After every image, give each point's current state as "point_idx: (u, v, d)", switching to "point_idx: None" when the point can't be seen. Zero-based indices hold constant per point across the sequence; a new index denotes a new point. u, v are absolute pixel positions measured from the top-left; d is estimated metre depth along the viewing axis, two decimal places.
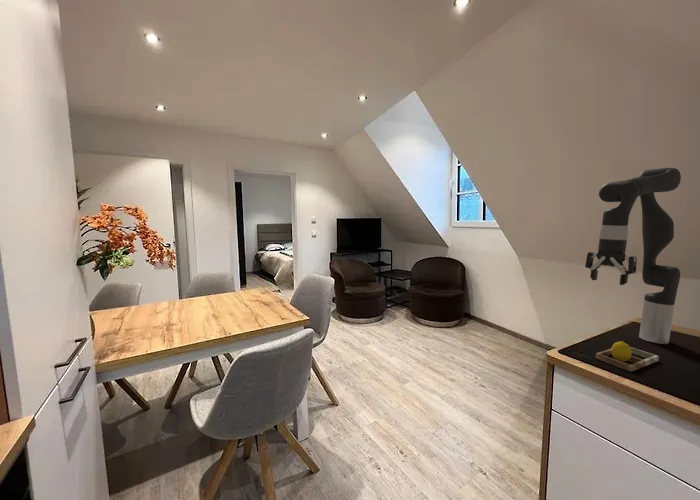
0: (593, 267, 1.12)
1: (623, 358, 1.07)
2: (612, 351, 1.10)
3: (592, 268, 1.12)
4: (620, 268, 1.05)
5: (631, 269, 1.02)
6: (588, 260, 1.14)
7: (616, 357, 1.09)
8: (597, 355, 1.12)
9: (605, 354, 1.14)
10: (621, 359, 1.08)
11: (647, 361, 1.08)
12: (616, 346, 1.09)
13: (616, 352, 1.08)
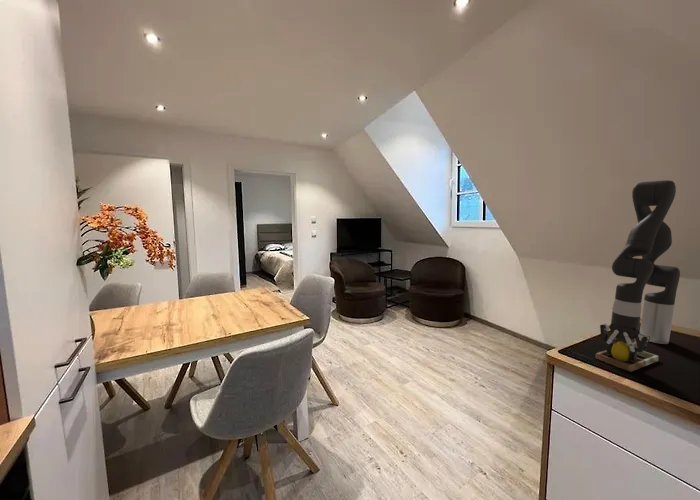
0: (609, 341, 1.12)
1: (623, 358, 1.07)
2: (612, 351, 1.10)
3: (608, 342, 1.12)
4: (630, 345, 1.06)
5: (641, 348, 1.03)
6: (602, 333, 1.13)
7: (616, 357, 1.09)
8: (597, 355, 1.12)
9: (605, 354, 1.14)
10: (621, 359, 1.08)
11: (647, 361, 1.08)
12: (616, 346, 1.09)
13: (616, 352, 1.08)
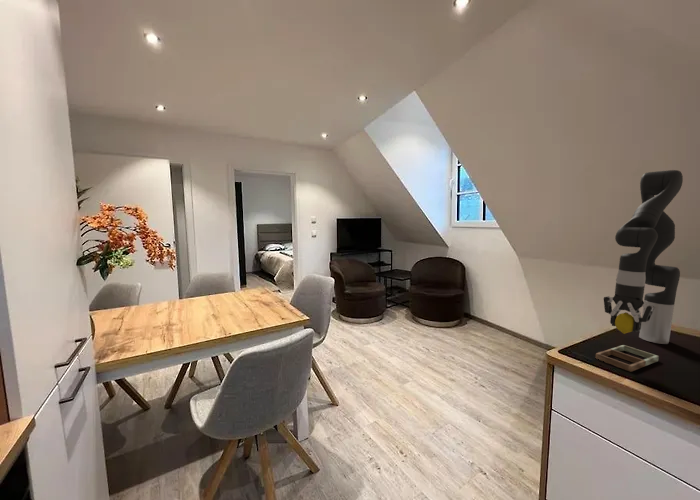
0: (613, 313, 1.10)
1: (627, 329, 1.06)
2: (616, 323, 1.09)
3: (612, 314, 1.11)
4: (635, 315, 1.05)
5: (645, 318, 1.02)
6: (606, 305, 1.12)
7: (620, 328, 1.08)
8: (597, 355, 1.12)
9: (605, 354, 1.14)
10: (625, 330, 1.07)
11: (647, 361, 1.08)
12: (620, 318, 1.08)
13: (620, 323, 1.07)
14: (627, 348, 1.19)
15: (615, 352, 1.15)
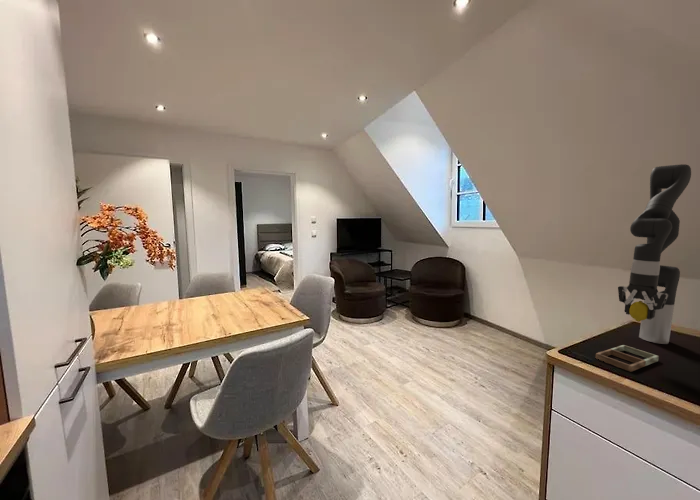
0: (628, 302, 1.14)
1: (641, 317, 1.10)
2: (630, 311, 1.13)
3: (626, 303, 1.15)
4: (649, 303, 1.09)
5: (660, 305, 1.06)
6: (620, 294, 1.16)
7: (634, 316, 1.12)
8: (597, 355, 1.12)
9: (605, 354, 1.14)
10: (639, 318, 1.11)
11: (647, 361, 1.08)
12: (634, 306, 1.12)
13: (635, 311, 1.11)
14: (627, 348, 1.19)
15: (615, 352, 1.15)
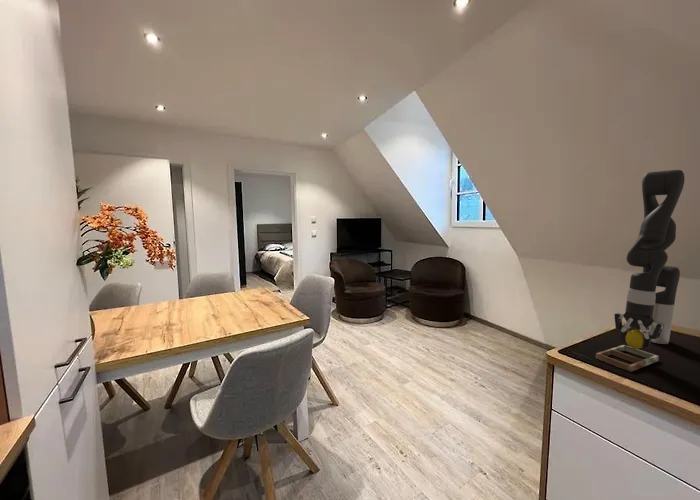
0: (624, 329, 1.15)
1: (637, 345, 1.11)
2: (626, 339, 1.14)
3: (623, 330, 1.16)
4: (645, 332, 1.10)
5: (655, 335, 1.07)
6: (617, 321, 1.17)
7: (630, 344, 1.13)
8: (597, 355, 1.12)
9: (605, 354, 1.14)
10: (635, 346, 1.12)
11: (647, 361, 1.08)
12: (631, 334, 1.13)
13: (631, 339, 1.12)
14: (627, 348, 1.19)
15: (615, 352, 1.15)
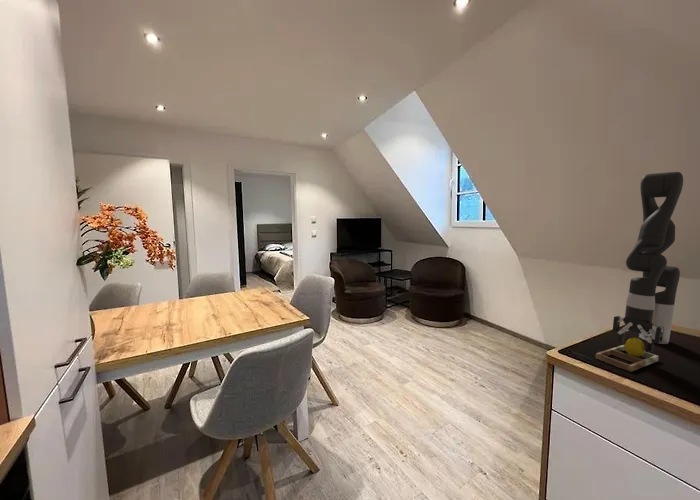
0: (621, 332, 1.16)
1: (636, 354, 1.12)
2: (626, 347, 1.14)
3: (620, 332, 1.17)
4: (647, 336, 1.09)
5: (658, 339, 1.07)
6: (615, 324, 1.18)
7: (630, 352, 1.13)
8: (597, 355, 1.12)
9: (605, 354, 1.14)
10: (635, 354, 1.12)
11: (647, 361, 1.08)
12: (630, 342, 1.13)
13: (630, 347, 1.13)
14: None
15: (615, 352, 1.15)
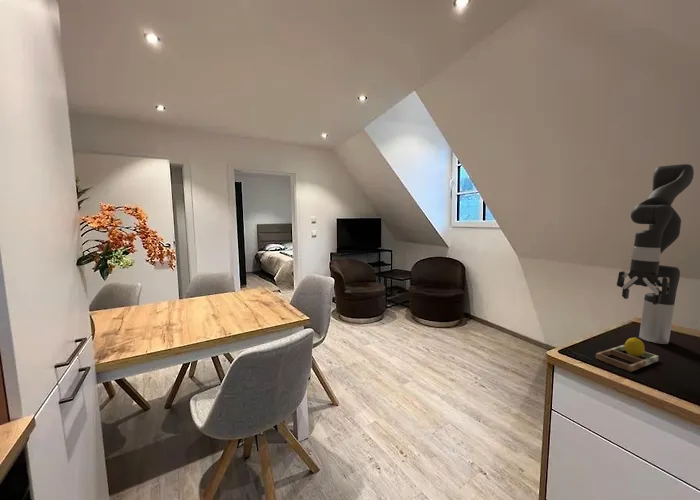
0: (625, 286, 1.16)
1: (636, 354, 1.12)
2: (626, 347, 1.14)
3: (624, 287, 1.16)
4: (653, 288, 1.08)
5: (665, 290, 1.06)
6: (620, 279, 1.17)
7: (630, 352, 1.13)
8: (597, 355, 1.12)
9: (605, 354, 1.14)
10: (634, 354, 1.12)
11: (647, 361, 1.08)
12: (630, 342, 1.13)
13: (630, 347, 1.13)
14: None
15: (615, 352, 1.15)
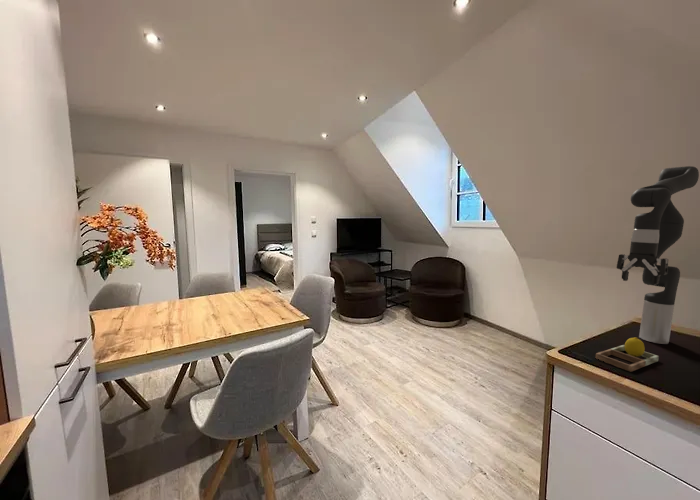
0: (624, 268, 1.19)
1: (636, 354, 1.12)
2: (626, 347, 1.14)
3: (623, 269, 1.19)
4: (652, 269, 1.11)
5: (663, 270, 1.09)
6: (619, 262, 1.20)
7: (630, 352, 1.13)
8: (597, 355, 1.12)
9: (605, 354, 1.14)
10: (634, 354, 1.12)
11: (647, 361, 1.08)
12: (630, 342, 1.13)
13: (630, 347, 1.13)
14: None
15: (615, 352, 1.15)
